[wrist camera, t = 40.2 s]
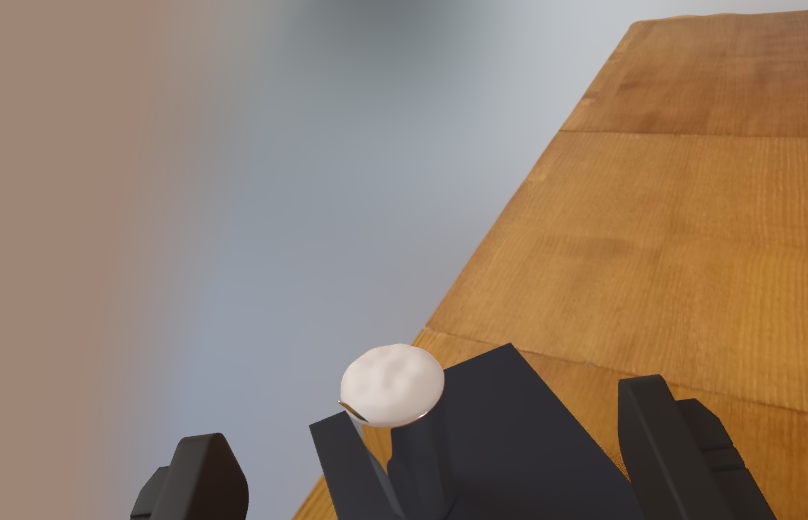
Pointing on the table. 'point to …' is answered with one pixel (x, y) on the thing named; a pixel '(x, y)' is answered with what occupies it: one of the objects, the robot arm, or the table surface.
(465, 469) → the case lid
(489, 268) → the table surface
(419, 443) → the milkshake
